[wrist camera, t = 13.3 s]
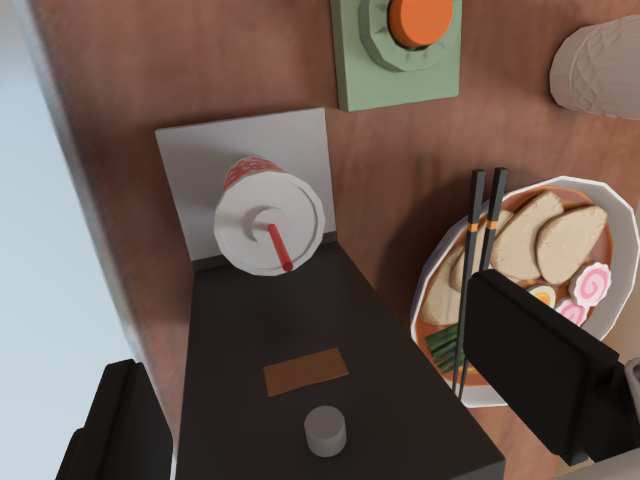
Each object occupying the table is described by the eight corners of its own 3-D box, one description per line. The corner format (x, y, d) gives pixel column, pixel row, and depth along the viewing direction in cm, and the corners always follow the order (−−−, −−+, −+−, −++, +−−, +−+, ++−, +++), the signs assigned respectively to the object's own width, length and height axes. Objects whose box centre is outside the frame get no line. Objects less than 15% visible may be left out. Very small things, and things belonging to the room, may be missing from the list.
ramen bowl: (543, 346, 46) (604, 395, 39) (370, 383, 41) (404, 448, 34) (598, 139, 37) (694, 153, 29) (381, 153, 31) (432, 175, 24)
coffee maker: (156, 129, 26) (-6, 265, 7) (319, 106, 29) (550, 158, 9) (211, 324, 33) (209, 668, 14) (339, 293, 36) (493, 551, 16)
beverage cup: (307, 202, 30) (373, 287, 18) (238, 236, 30) (256, 349, 17) (273, 130, 27) (324, 171, 15) (197, 167, 27) (183, 241, 14)
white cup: (538, 38, 31) (669, 20, 22) (618, 3, 32) (776, -27, 23) (545, 129, 35) (660, 145, 26) (617, 96, 35) (753, 101, 26)
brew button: (387, -14, 23) (399, -22, 22) (439, -19, 24) (454, -26, 23) (389, 49, 25) (400, 47, 23) (437, 44, 26) (452, 41, 24)
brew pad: (324, -66, 25) (343, -91, 21) (447, -72, 26) (483, -96, 23) (339, 110, 29) (356, 114, 26) (443, 95, 31) (473, 96, 27)
